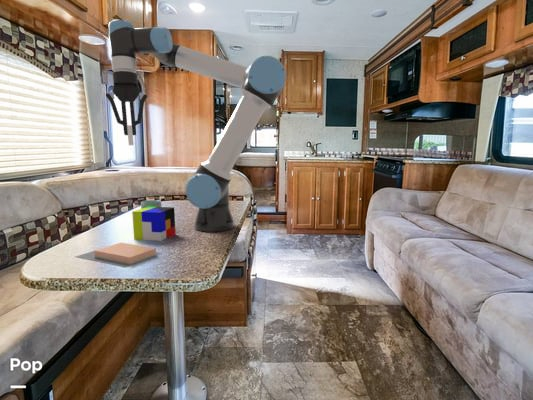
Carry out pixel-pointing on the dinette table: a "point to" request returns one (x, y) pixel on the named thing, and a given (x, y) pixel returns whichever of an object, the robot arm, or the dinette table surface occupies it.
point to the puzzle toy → (154, 223)
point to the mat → (92, 257)
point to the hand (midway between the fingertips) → (131, 145)
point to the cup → (151, 203)
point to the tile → (125, 253)
